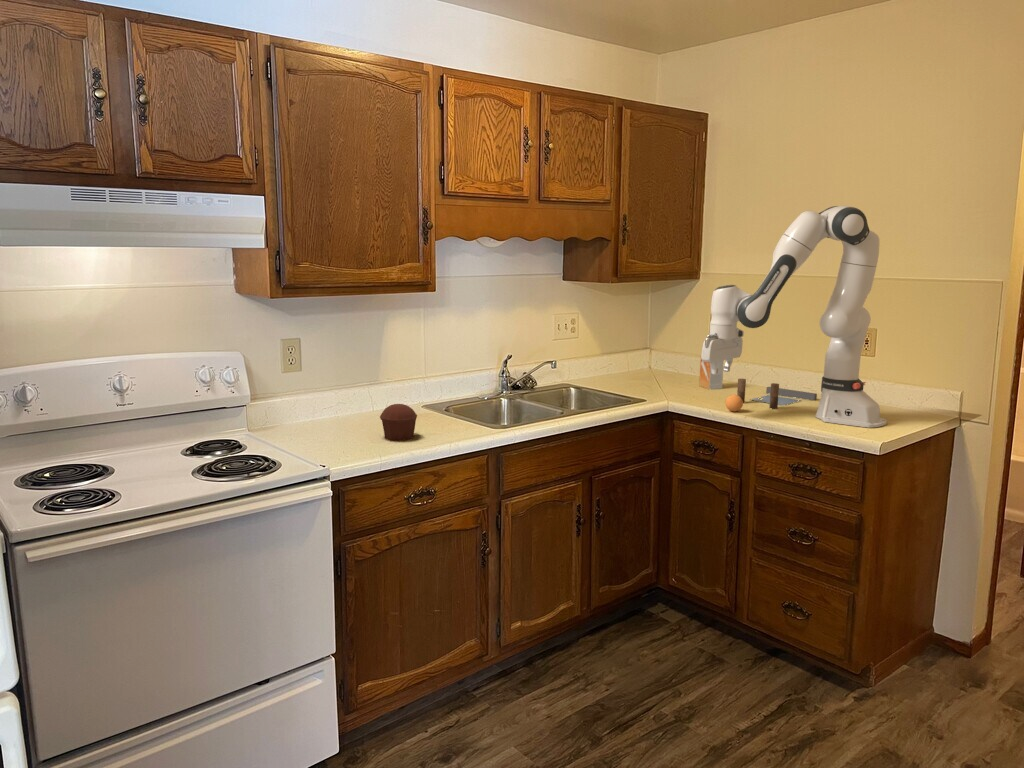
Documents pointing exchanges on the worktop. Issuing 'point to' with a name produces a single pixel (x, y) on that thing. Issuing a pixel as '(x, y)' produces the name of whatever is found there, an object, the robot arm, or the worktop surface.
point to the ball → (734, 403)
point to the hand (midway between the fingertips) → (720, 372)
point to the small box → (711, 375)
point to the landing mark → (780, 400)
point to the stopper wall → (795, 393)
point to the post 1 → (741, 389)
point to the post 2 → (774, 395)
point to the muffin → (398, 422)
